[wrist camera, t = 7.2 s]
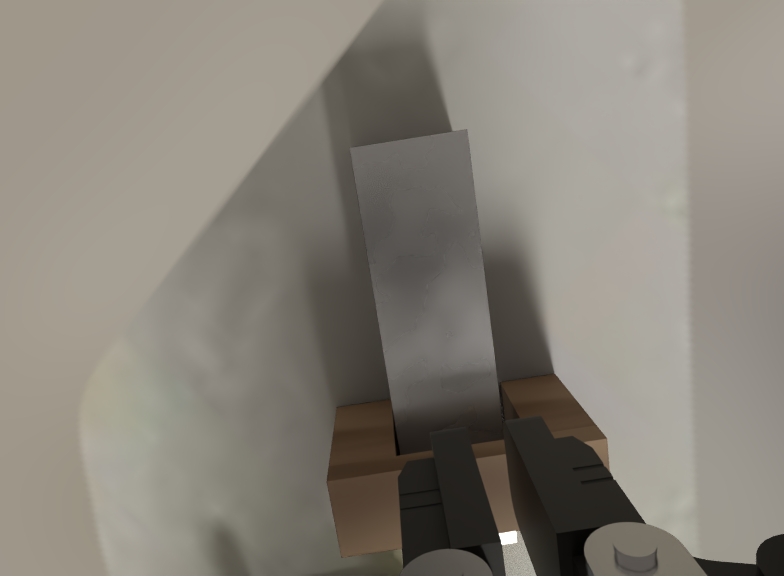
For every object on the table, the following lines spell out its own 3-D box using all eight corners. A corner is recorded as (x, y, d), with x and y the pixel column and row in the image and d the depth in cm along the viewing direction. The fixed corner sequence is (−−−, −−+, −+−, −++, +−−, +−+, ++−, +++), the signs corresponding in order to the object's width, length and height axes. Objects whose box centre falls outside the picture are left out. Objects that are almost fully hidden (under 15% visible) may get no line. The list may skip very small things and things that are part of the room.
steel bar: (496, 487, 28) (516, 541, 24) (410, 500, 28) (417, 558, 24) (451, 132, 24) (467, 129, 20) (353, 148, 24) (349, 147, 20)
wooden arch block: (560, 436, 27) (613, 516, 21) (348, 468, 27) (341, 557, 21) (554, 373, 26) (606, 438, 20) (336, 407, 26) (326, 481, 20)
